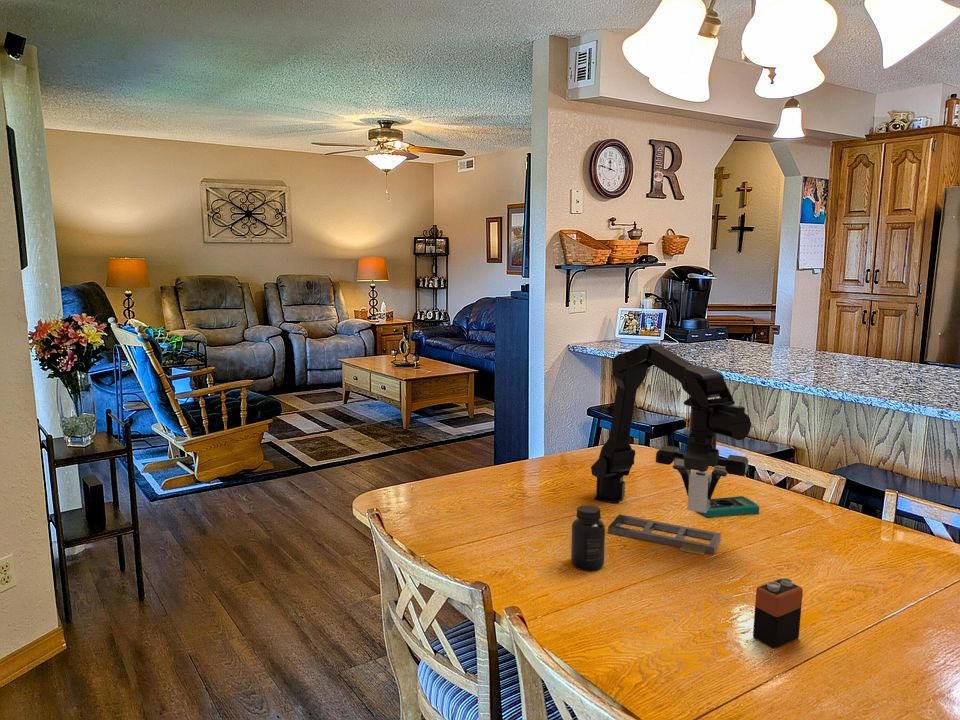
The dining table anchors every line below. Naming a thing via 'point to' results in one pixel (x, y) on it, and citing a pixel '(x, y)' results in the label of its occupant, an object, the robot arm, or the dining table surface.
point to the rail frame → (677, 541)
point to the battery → (777, 612)
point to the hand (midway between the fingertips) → (699, 497)
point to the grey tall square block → (699, 491)
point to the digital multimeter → (731, 507)
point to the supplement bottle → (588, 539)
